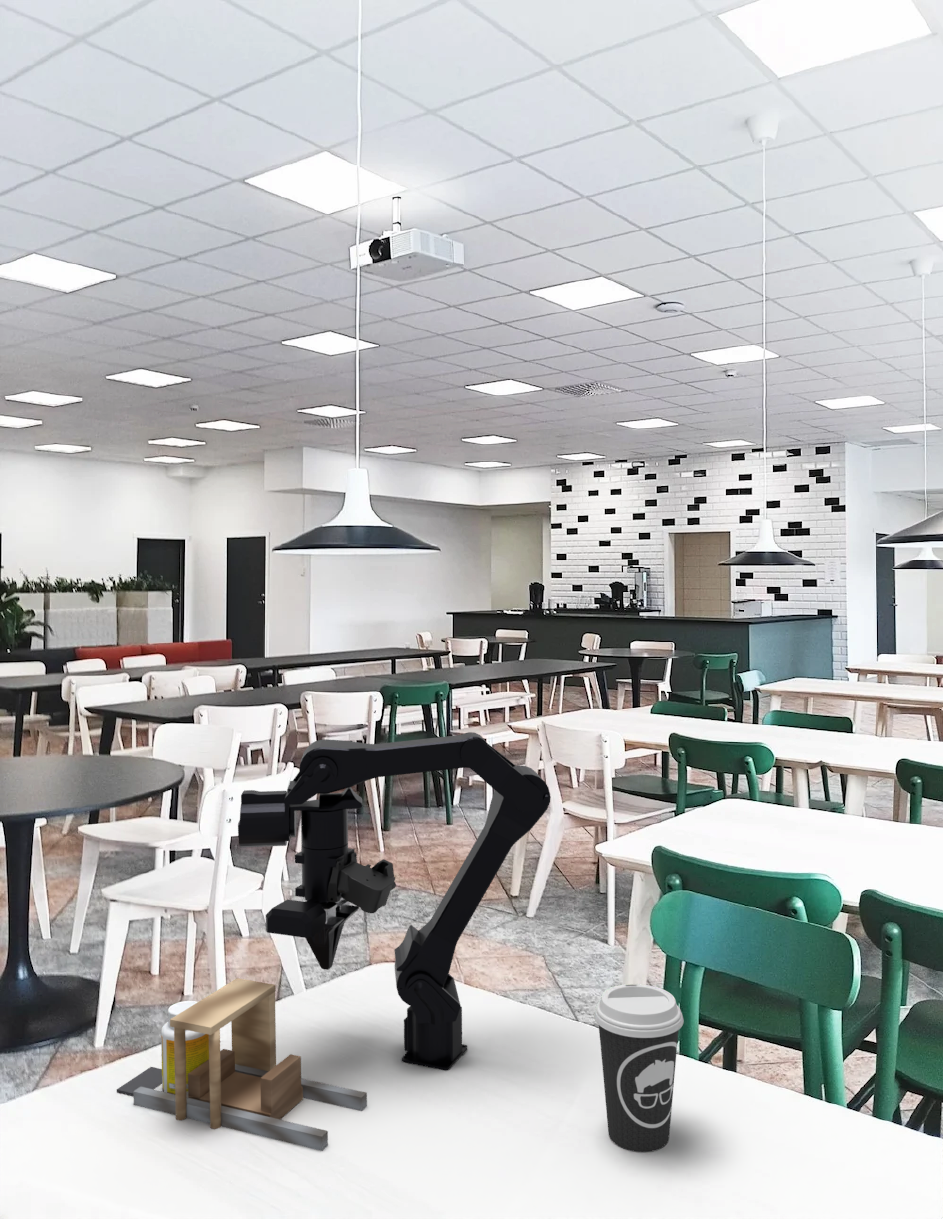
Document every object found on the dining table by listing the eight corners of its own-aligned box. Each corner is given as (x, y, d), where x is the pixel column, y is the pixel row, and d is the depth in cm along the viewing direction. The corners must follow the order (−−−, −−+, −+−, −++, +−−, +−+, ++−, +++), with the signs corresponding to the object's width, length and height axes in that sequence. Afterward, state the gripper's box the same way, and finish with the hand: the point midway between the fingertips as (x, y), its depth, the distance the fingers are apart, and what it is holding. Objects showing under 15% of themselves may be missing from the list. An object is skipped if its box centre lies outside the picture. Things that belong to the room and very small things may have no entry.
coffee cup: (689, 1120, 113) (688, 986, 113) (677, 1167, 104) (676, 1023, 104) (604, 1106, 117) (603, 976, 116) (585, 1150, 108) (584, 1010, 107)
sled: (302, 1099, 118) (302, 1055, 118) (270, 1128, 112) (269, 1081, 112) (224, 1081, 122) (223, 1038, 122) (188, 1108, 116) (187, 1063, 116)
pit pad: (177, 1074, 125) (177, 1072, 125) (143, 1098, 119) (143, 1095, 119) (151, 1068, 126) (151, 1066, 126) (116, 1091, 121) (116, 1089, 121)
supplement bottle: (219, 1094, 120) (217, 1008, 120) (173, 1110, 116) (172, 1021, 116) (199, 1076, 124) (197, 993, 124) (154, 1091, 121) (153, 1006, 120)
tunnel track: (372, 1102, 118) (371, 1001, 117) (315, 1159, 106) (313, 1048, 106) (195, 1063, 127) (193, 970, 127) (125, 1112, 116) (123, 1009, 116)
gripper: (347, 870, 115) (349, 1007, 115) (415, 830, 132) (416, 950, 133) (262, 861, 119) (264, 994, 119) (338, 824, 136) (340, 939, 137)
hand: (326, 968), depth 127 cm, fingers closed
